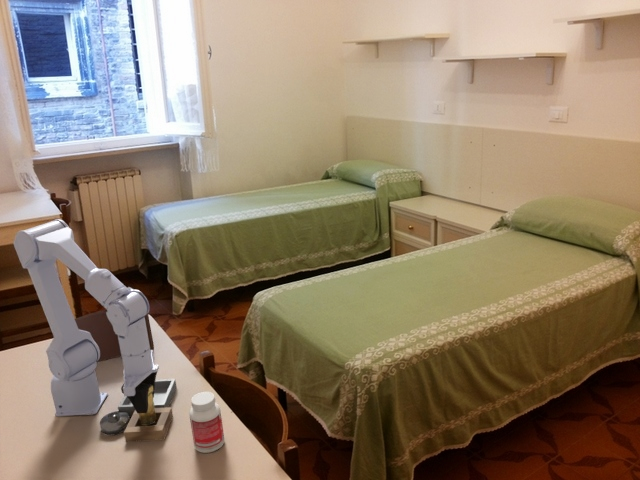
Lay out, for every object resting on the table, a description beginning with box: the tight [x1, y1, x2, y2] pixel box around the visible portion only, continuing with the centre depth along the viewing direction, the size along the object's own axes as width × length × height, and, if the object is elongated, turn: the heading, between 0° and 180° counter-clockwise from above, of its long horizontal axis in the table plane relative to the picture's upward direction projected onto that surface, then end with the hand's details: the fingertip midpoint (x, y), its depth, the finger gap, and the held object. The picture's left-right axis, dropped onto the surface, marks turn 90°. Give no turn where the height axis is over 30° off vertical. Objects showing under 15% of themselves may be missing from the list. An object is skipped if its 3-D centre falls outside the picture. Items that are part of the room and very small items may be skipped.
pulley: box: [99, 410, 130, 436], centre depth 124 cm, size 6×6×3 cm
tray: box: [117, 378, 177, 418], centre depth 132 cm, size 10×10×3 cm
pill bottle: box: [188, 391, 225, 454], centre depth 115 cm, size 6×6×11 cm
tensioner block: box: [123, 406, 174, 443], centre depth 122 cm, size 8×8×2 cm
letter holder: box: [74, 309, 155, 363], centre depth 155 cm, size 10×20×14 cm, turn 113°
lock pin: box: [138, 383, 156, 426], centre depth 121 cm, size 4×4×8 cm
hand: (145, 405), depth 121 cm, fingers closed on lock pin, 4 cm apart
